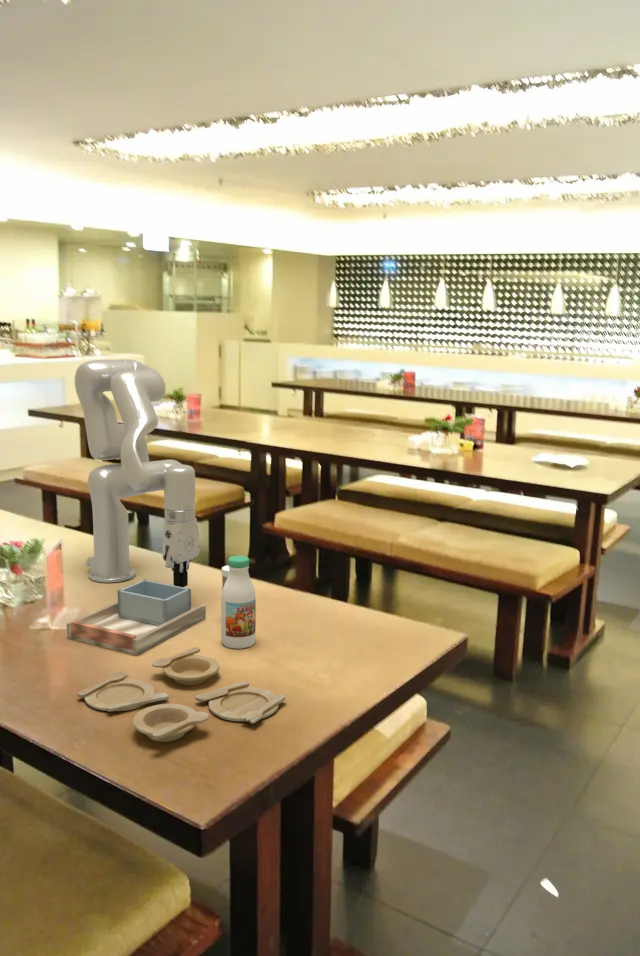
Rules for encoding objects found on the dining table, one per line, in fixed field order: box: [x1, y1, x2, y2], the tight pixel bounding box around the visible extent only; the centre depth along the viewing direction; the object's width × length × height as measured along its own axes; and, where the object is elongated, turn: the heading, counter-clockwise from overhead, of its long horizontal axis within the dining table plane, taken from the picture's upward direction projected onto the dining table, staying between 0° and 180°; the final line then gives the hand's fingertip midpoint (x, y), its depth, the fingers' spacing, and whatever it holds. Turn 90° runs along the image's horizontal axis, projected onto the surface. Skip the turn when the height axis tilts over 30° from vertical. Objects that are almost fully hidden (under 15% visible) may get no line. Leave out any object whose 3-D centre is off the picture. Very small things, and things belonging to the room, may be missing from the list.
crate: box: [117, 579, 192, 626], centre depth 199 cm, size 14×10×6 cm
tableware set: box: [77, 646, 286, 743], centre depth 158 cm, size 35×29×4 cm
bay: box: [66, 600, 207, 657], centre depth 195 cm, size 20×26×4 cm
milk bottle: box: [220, 555, 257, 650], centre depth 186 cm, size 8×8×20 cm
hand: (180, 585), depth 208 cm, fingers closed
